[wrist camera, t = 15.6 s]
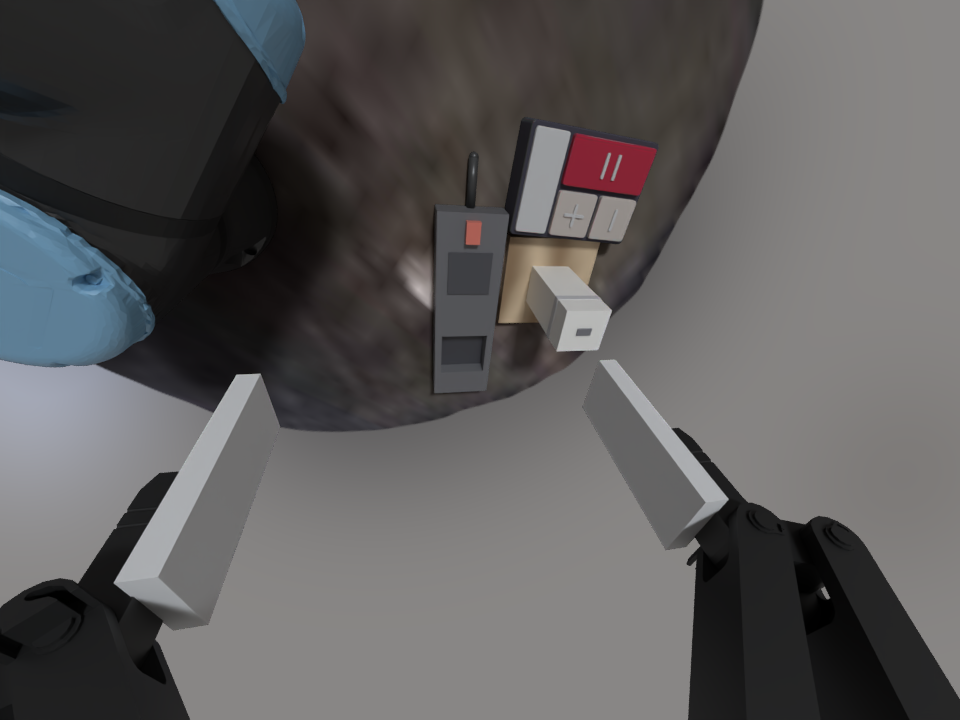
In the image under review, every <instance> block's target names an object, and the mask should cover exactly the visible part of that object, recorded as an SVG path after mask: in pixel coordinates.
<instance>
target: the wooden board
mask: <svg viewBox="0 0 960 720" xmlns="http://www.w3.org/2000/svg"><path fill="white" fill-rule="evenodd" d="M599 245H600V242H590V241H580V240H570V239H559V238H549V237H539V236H529V235H518V234H508V237H507V244H506V252H505V259H504V267H503V274H502V282H501V289H500V297H499V304H498V312H497V321H498V323H537V322H538V320H537V318H536V317H535V315H534V313H533V312H532V310H531V309H530V307H529V305H528V304H527V302H526V298H527V292H528V287H529V281H530V276H531V271H532V266H566V267H569V268H570V269H571V270H572V271H573V272H574V273H575V274H576V275H577V276H578V277H579V278H580V279H581V280H582V281H583V282H584V283H585V284H586V285H587V286H588V283H589V279H590V276H591V273H592V269H593V266H594V262H595V259H596V255H597V252H598V249H599Z"/></svg>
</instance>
